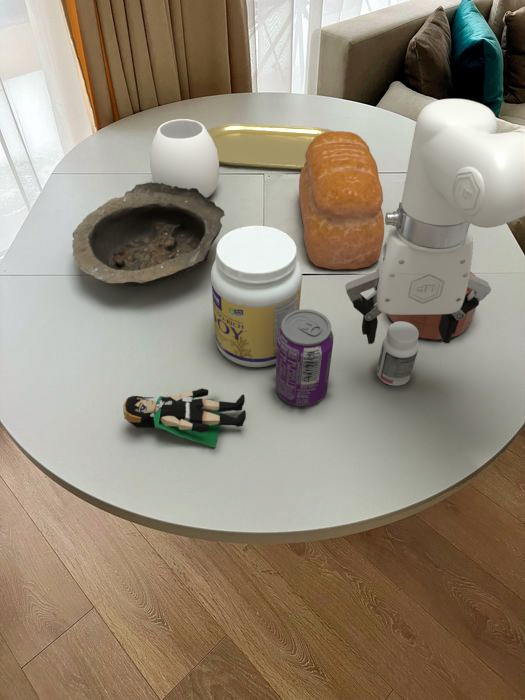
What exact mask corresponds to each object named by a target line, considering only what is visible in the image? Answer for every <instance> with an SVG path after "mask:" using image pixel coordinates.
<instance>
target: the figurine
mask: <svg viewBox="0 0 525 700" xmlns="http://www.w3.org/2000/svg"><path fill="white" fill-rule="evenodd" d="M207 396H209V389H206V388H199V389H196V390H192V391H190V392H189V391H188V392H186V391H185V392H180V393H179V394H178V395H171V394H167V395H166V396H161V395H159V396H158V398H157V399H156V401H155V400H153V399H154V398H155V397H152V396H151V397H149V396H143V395H131V396H129V397H126V398H125V400H124V402H123V405H122V406H123V407H122V410H123V412H122V413H123V419H124V420H125V421H127V422H128V423H130V424H131V425H132V426H133V427H135V428H136V429H160V430H166V431H167V432H169V433H171V434H173V435H175V436H178V437H180V438H183V439H186V440H190V441H192V442H196V443H199V444H203V445H206V446H208V447H212V448H213V449H216V446H217V442H218V439H219V436H220V426H231V427H237V428H239V427H243V426H244V423H245V421H246V419H247V412H246V410H245V409H244V410H243V407H244V404H245V403H246V402H245V401H246V399H245V394H241V396H239V398H238V399H237V400H236V401H235V402H232V401H223V400H220V401H215V400H214V399H213V398H211V399H210V398H203V397H207ZM232 411H233V412H240V411H241V412H240V413H239V414H237V416H236V417H235V416H232V415H230V414H226V412H232ZM224 412H225V413H224ZM151 415H153V416H151Z"/></svg>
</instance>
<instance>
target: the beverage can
mask: <svg viewBox="0 0 525 700" xmlns="http://www.w3.org/2000/svg"><path fill="white" fill-rule="evenodd" d="M333 348H334V333H333V330H332V324H331V321H330V320H329V318H328V317H327V316H326V315H324V314H323V313H321V312H319V311H316V310H313V309H307V308H306V309H305V308H303V309H302V308H301V309H299V310H296V311H293V312H291V313H289V314H287V315H286V316H285V317H284V319H283V320H282V323H281V327H280V328H279V330H278V333H277V351H276V363H275V381H274V382H275V385H274V386H275V391H276V392H277V395H278V396H279V397H280V398H281V399H282V400H283V401H285V402H286V403H289V404H290V405H294V406H299V407H305V406H311V405H312V406H313V405H315V404H316V403H319V402H320V401H321V400H322V399H323V398H324V397H325V396H326V394H327V393H328V384H329V379H330V378H329V377H330V370H331V362H332V356H333Z"/></svg>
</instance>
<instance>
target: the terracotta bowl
mask: <svg viewBox="0 0 525 700" xmlns="http://www.w3.org/2000/svg"><path fill="white" fill-rule="evenodd" d="M470 274H472V275H474V276H476V274H475V273H473V272H472V271H471V270H470ZM469 292H472V290H471V289H469V288H467V290H466V294H467V293H469ZM476 309H477V307H475V308H474V309H472V310H471V311H469V312H467V313H466V314H465V317H464V318H463V319H462V320H459V322H458V325H457V328H456V332H455V334H452V336H451V338H454V337H457V336H459V335H461V334H462V333H464V332H465V331H466V330H467V329H468V328H469V327H470V324H471V322H472V321H473V317H474V315H475V312H476ZM387 316H388V318H389V319H390V320H391V321H392V322H393V323H395V322H399V321H402V322H408V323H410V324H412V325H414V326H415V327H416V328H417V330H418V332H419V336H418V338H422V339H428V340H433V341H434V340H442V338H441V335H440V332H439V329H438V327H439V323H440V320H441V316H442V314H430V315H391V314H387Z"/></svg>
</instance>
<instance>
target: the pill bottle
mask: <svg viewBox="0 0 525 700" xmlns="http://www.w3.org/2000/svg"><path fill="white" fill-rule="evenodd" d="M418 336H419V332H418V330H417V328H416V327H415V326H414V325H412V324H410V323H408V322H402V321H399V322H395V323H394V322H393V323H390V325H389V326H388V329H387V331H386V335H385V336H384V337H383V339H382V342H381V348H380V353H379V358H378V362H377V367H376V374H377V376H378V378H379V380H380V381H382V382H383V383H384V384H386V385H388V386H393V387H395V386H397V387H398V386H399V387H400V386H402V385H405V384H407V383H408V382H409V381H410V379H411V377H412V373H413V370H414V366H415V362H416V359H417V356H418V352H419V346H420V345H419V342H418V340H419V337H418Z"/></svg>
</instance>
